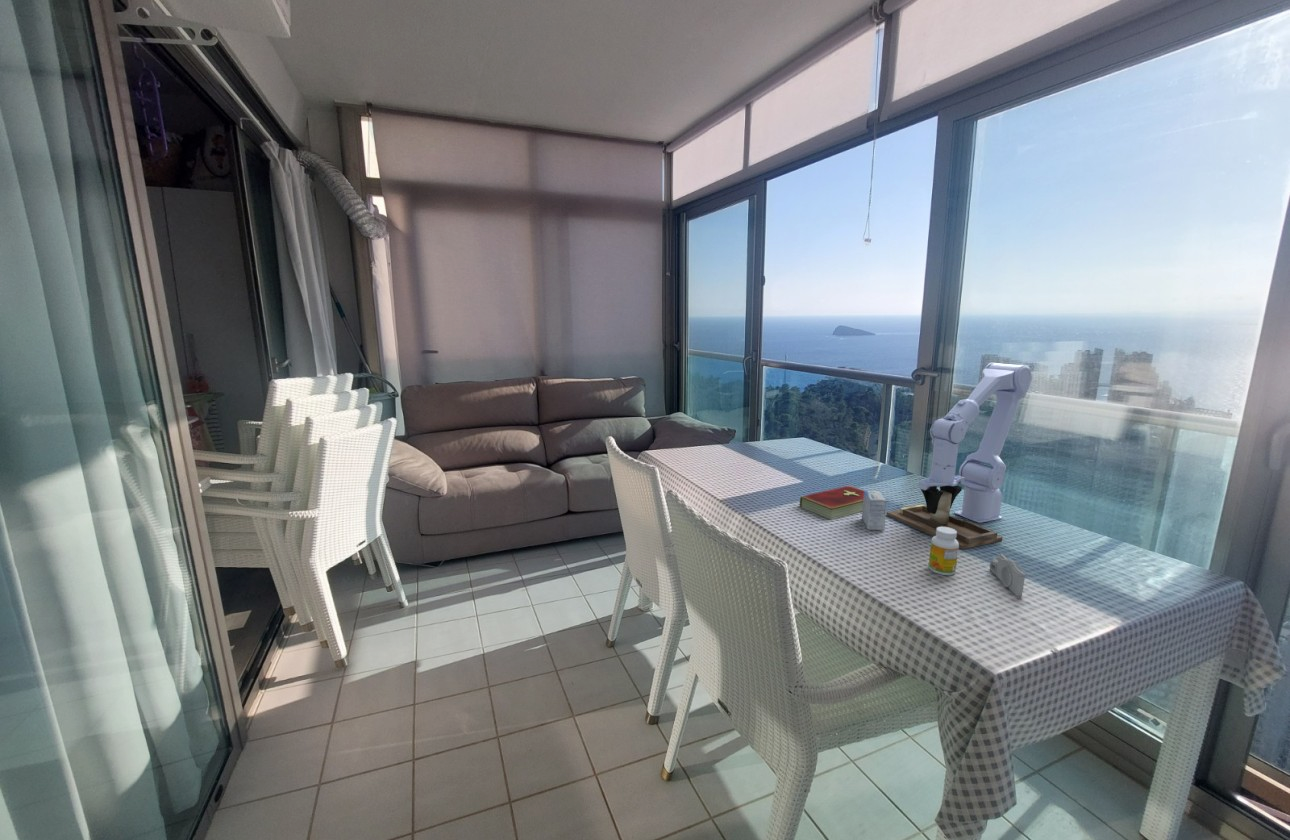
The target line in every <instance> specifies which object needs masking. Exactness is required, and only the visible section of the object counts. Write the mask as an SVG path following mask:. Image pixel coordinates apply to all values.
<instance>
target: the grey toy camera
mask: <svg viewBox="0 0 1290 840" xmlns="http://www.w3.org/2000/svg"><path fill="white" fill-rule="evenodd" d="M989 559H990V563H989V569H990V570H989V571H991V572H992V573H993V574H994V575H995V576H996V577H997V578H998V579H999V581H1000V582H1001V583H1002V584H1003V586H1004V587H1005V588H1006V587H1007V588H1008V589H1009V590H1010V592H1012V594H1013V595H1015V596H1016V597H1017V596H1018V597H1022V596H1023V592H1024V585H1025V578H1027V577H1029V575H1028V574H1026V573H1025V572H1024V571H1023V569H1022V568H1021V566H1019V563H1018V562H1016V560H1013V559H1012V558H1011V559H1010V558H1008V556H1007V555H1005V554H1003V553H1000V554H998V555H997V557H994V556H993V557H990V558H989Z"/></svg>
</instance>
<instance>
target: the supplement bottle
mask: <svg viewBox="0 0 1290 840" xmlns="http://www.w3.org/2000/svg"><path fill="white" fill-rule="evenodd" d="M936 535H937V536H932V538H931V540H930V541H931V542H930V550H929V556H928V558H929V560H928V569H930V571H932V572H933V573H935V574H938V575H942V576H952V575H954V574H955V573H956V571H957V565H958V556H959V555H958V554H959V550H960V548H959V543H958V541H957V540H956V539H955V538H956V536H957V531H956V530H954V529H952V528H949V527H937V528H936Z"/></svg>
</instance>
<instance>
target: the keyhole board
mask: <svg viewBox="0 0 1290 840" xmlns="http://www.w3.org/2000/svg"><path fill="white" fill-rule="evenodd" d="M886 516H887V517H889V518H892V519H893V520H896V521H899V522H901V523H903V524H905V525H908V526H909V527H911V528H913V529H914V528H915V529H916V530H918V531H921V532H923V533H924V534H928V535H930V536H931V537H934V536H937V535H936V528H937V527H949V528H952V529H954V530H956V531H957V536H956V538H955V539H956V540H957V541H958V543H959V550H960V549H961V550H965V549H966V550H967V549H972V548H975V547H980V546H984V545H989V544H994V543H998V542H1002V541H1003V536H1000V535H998V532H997V531H994V530H992V529H989V528H986V527H983V526H981V525H979V524H976V523H973V522H971V521H969V520H966V519H961V518H958V517H955V516H953V515H951V514H949V522H948V524H940V523H938V522H936V521H933V520H931V519H930V512H928V511H927V505H925V504H923V503H922V504H916V505H911V506H906V507H905V506H904V507H900V508H899V509H896V510H891V511H886Z"/></svg>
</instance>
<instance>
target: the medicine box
mask: <svg viewBox="0 0 1290 840" xmlns="http://www.w3.org/2000/svg"><path fill="white" fill-rule="evenodd" d="M887 502H888V500H886V498H885V497H884V495H883V493H881V491H879V490H864V496H863V509H862V511H861V514H862V515H861V520H862V521H863V523H864V525H865V527H866V528H867V530H871V531H885V530H886V516H887V504H888V503H887Z"/></svg>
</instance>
